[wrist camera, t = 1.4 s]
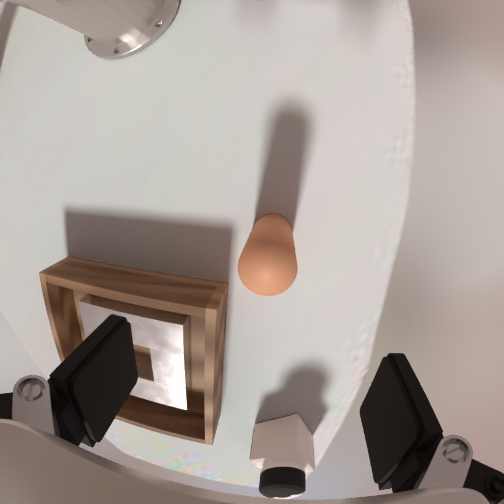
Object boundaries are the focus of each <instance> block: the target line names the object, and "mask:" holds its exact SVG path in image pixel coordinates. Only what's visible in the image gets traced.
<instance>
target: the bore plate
mask: <svg viewBox="0 0 504 504" xmlns="http://www.w3.org/2000/svg"><path fill="white" fill-rule="evenodd" d="M78 302H79V307H80V313H81V318H82V323H83V328H84V332H85V337H86V338H87V337H88V336H89V335H90V334H91V333H92V332H93V331H94V330H95V329H96V328H97V327H98V326H99V325H100V324H101V323H102V322H103V321H104V320H105V319H106V318H107V317H108V316H109V315H111V314H115V315H119V316H123V317H125V318H126V319H127V321H128V322H130V324H131V330H132V338H133V344H135V345H139V346H143V347H147V348H150V353H151V361H152V368H150V367H147V366H143V365H139V364H136V365H137V371H138V380H137V383H136V385H135V386H134V388H133V390H132V391H131V393H130V395H133V396H136V397H139V398H143V399H146V400H150V401H153V402H157V403H161V404H165V405H168V406H172V407H177V408H181V409H185V410H187V408H188V406H189V403H190V400H191V398H192V396H191V372H190V315H187V314H181V313H176V312H170V311H165V310H160V309H155V308H150V307H145V306H140V305H136V304H131V303H127V302H122V301H118V300H113V299H109V298H105V297H101V296H97V295H93V294H89V293H88V294H87V295H86V296H84V297H83V298H82V299H80V300H79V301H78Z"/></svg>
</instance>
